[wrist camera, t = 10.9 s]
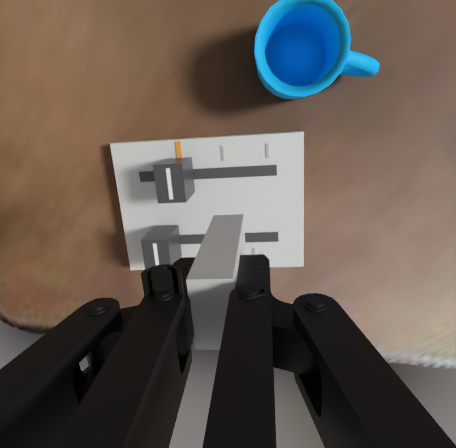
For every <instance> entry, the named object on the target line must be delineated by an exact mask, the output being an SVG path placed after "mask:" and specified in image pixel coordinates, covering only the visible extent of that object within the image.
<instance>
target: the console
mask: <svg viewBox="0 0 456 448" xmlns="http://www.w3.org/2000/svg"><path fill="white" fill-rule="evenodd" d="M110 147H111V153H112V159H113V166H114V172H115V178H116V184H117V190H118V196H119V202H120V208H121V214H122V221H123V227H124V233H125V239H126V245H127V251H128V257H129V263H130V269H131V270H145V266H144V259H143V252H142V246H141V239H142V238H143V237H144V236H145V235H146V234H147V233H148V232H149V231H150V230H151V229H152V228H153V227H154V226H166V225H178V226H179V235H180V244H181V252H182V256H181V258H184V257H196V255H197V253H198V251H199V248H200V246H201V243H202V241H203V239H204V236H205V234H206V232H207V229H208V227H209V225H210V222H211V220H212V218H213V215H236V214H244V229H245V245H246V255H258V254H264V255H265V256H266V257H267V258H268V259H269V265H270V267H304V132H303V131H293V132H276V133H260V134H244V135H227V136H211V137H195V138H178V139H162V140H146V141H129V142H116V143H111V144H110ZM186 157H192V165H193V176H194V186H195V192H194V194H193V195H192V196H191V197H190V198H189V200H188V201H187V202H183V203H159V204H158V201H157V193H156V186H155V178H154V170H153V165H154V164H156V163H158V162H160V161H162V160H164V159H167V158H186Z"/></svg>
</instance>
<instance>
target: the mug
mask: <svg viewBox="0 0 456 448" xmlns="http://www.w3.org/2000/svg"><path fill="white" fill-rule="evenodd" d="M350 43H351V36H350V30H349V24H348V21H347V19H346V17H345V15H344V13H343V11H342V10H341V8H340V7H339V6H338V5H337V4H336V3H335V2H333V1H332V0H279V1H278V2H277V3H275V4H274V5H273V6H271V7H270V9H269V10H268V11H267V13H266V14H265V16H264V17H263V18H262V20H261V22H260V24H259V27H258V30H257V33H256V36H255V49H254V55H255V62H256V68H257V72H258V76H259V78H260V80H261V82H262V83H263V85H264V87H265V88H266V89H267V90H268V91H270V92H271V93H272V94H273V95H275V96H278V97H280V98H283V99H294V100H296V99H300V98H303V97H306V96H309V95H312V94H315V93H318V92H320V91H321V90H323V89H324V88H326V87H327V86H329V85H330V84H332V83H333V81H334V80H335V79H336V78H337V77H338V75H339V74H342V75H348V76H358V77H370V76H374V75H375V74H376V73H377V72H378V70H379V62H378V61H377V60H375V59H374V58H372V57H369V56H367V55H364V54H361V53H358V52H354V51H350Z"/></svg>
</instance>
